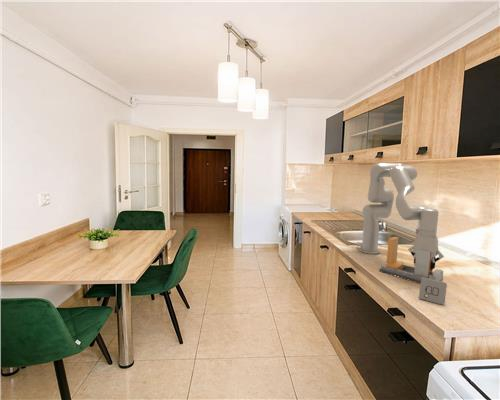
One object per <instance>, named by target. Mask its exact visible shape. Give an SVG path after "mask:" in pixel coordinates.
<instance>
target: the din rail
mask: <svg viewBox="0 0 500 400" xmlns="http://www.w3.org/2000/svg"><path fill="white" fill-rule="evenodd" d="M414 270H415V266H412V265H408V264H404V268H403V269H402V270H398V269H394V268H391V267H387V266H386V265H383V264H381V265H380V268H379V272H380V271H382V272H381V273H384V272H385V274H387V273H388V274H387V275H390V274H392V275H391V276H394V275H396V276H395V277H397V276H399V277H398V278H401V277H402V278H401V279H404V278H405V280H407V279H409V280H408V281H411V280H412V281H411V282H414V281H415V282H414V283H418V282H419V283H418V284H421V278H428V279H432V280H437V281H441V282H443V280H444V270H442V269H438V268H436V269H435V270H433V271H432V273H431V274H429V277H423V276H420V275H416V274H414Z"/></svg>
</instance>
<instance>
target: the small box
mask: <svg viewBox="0 0 500 400" xmlns="http://www.w3.org/2000/svg"><path fill="white" fill-rule="evenodd" d="M431 262H432V260H431V252H429V251H425V250H419V249H417V250H416V260H415V264H414V265H415V266H414V267H415V270H414V274H416V275H420V276H423V277H429V274H431V273H432V272H433V271H434V269H433V270H430V265H431Z"/></svg>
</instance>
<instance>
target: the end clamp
mask: <svg viewBox="0 0 500 400" xmlns="http://www.w3.org/2000/svg"><path fill="white" fill-rule="evenodd" d="M398 247H399V236H398V237H397V236H392V237H390V238H388V243H387V255H386V263H385V266H387V267H391V268H394V269H398V270H402V269H403V268H404V265H405V263H404V262H399V261H397V259H398Z"/></svg>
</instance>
